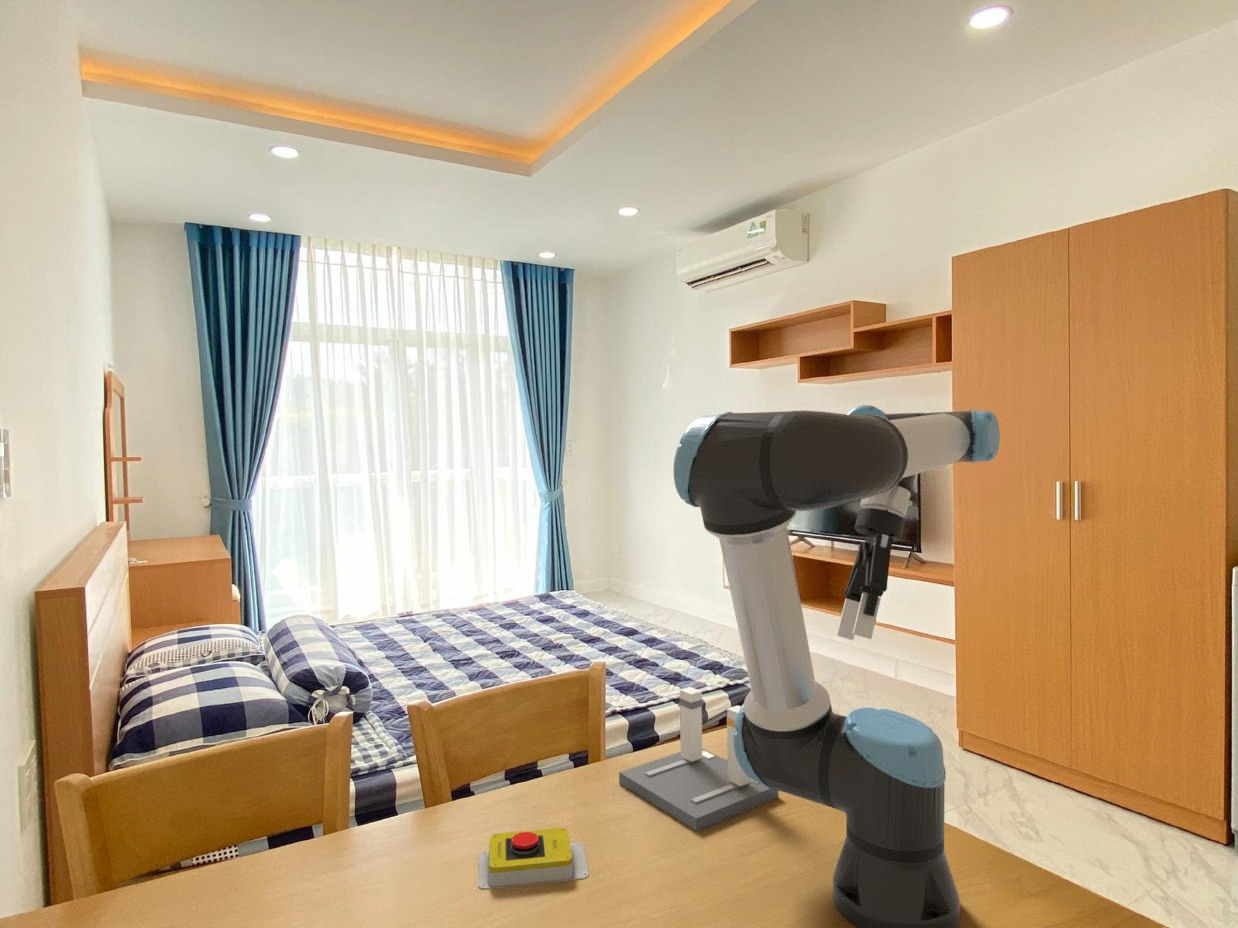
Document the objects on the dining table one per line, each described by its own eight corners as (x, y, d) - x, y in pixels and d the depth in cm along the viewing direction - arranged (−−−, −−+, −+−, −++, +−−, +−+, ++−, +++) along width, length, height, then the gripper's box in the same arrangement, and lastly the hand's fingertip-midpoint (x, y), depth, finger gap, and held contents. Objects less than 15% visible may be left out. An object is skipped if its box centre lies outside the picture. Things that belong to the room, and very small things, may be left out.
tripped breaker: (738, 775, 127) (737, 704, 127) (751, 782, 124) (751, 710, 124) (727, 779, 125) (726, 708, 125) (740, 786, 123) (739, 713, 123)
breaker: (691, 752, 137) (690, 686, 136) (702, 757, 134) (701, 691, 134) (680, 755, 135) (679, 689, 135) (691, 761, 133) (690, 694, 132)
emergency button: (479, 825, 109) (582, 816, 112) (479, 855, 109) (582, 845, 112) (476, 861, 100) (589, 850, 102) (477, 893, 100) (589, 881, 103)
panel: (697, 756, 141) (697, 744, 141) (778, 796, 125) (778, 783, 125) (619, 783, 130) (619, 770, 130) (696, 831, 114) (696, 816, 114)
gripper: (927, 505, 114) (896, 643, 110) (886, 530, 138) (859, 644, 134) (877, 492, 115) (844, 628, 111) (845, 519, 139) (817, 631, 135)
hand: (852, 637), depth 122 cm, fingers open, 13 cm apart
